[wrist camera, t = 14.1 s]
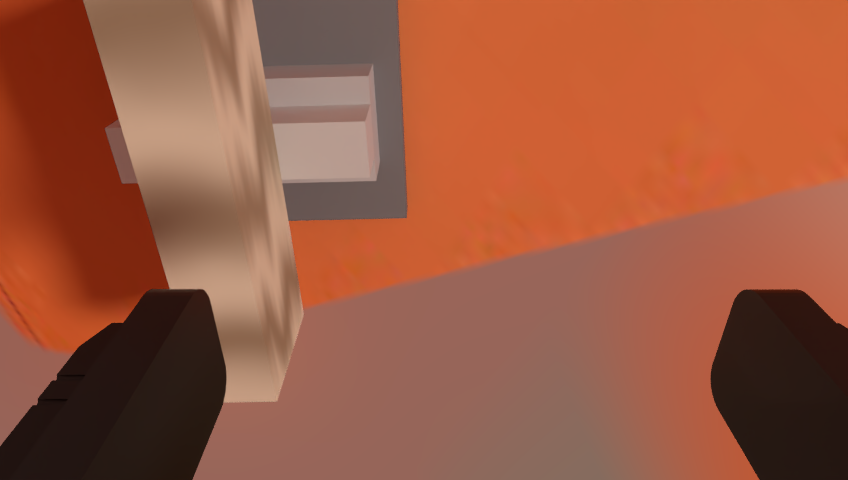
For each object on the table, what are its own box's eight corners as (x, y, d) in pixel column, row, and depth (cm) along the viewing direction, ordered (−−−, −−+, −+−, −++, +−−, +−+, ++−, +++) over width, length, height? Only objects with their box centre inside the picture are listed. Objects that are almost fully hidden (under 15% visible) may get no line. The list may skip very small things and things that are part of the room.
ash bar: (157, -64, 24) (65, -57, 18) (241, -66, 24) (178, -61, 18) (243, 315, 34) (204, 402, 28) (303, 314, 34) (277, 401, 28)
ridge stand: (113, -8, 32) (34, 11, 26) (396, -17, 32) (389, 0, 25) (174, 213, 39) (123, 272, 32) (407, 207, 39) (403, 266, 32)
